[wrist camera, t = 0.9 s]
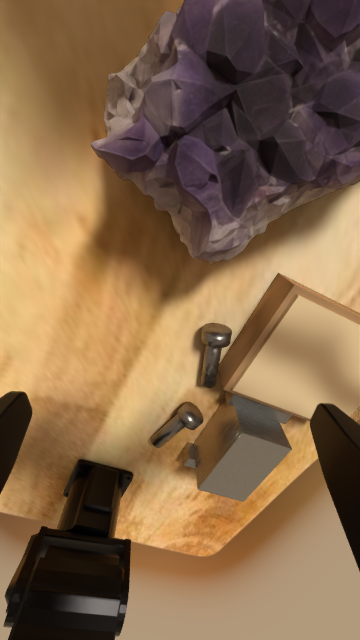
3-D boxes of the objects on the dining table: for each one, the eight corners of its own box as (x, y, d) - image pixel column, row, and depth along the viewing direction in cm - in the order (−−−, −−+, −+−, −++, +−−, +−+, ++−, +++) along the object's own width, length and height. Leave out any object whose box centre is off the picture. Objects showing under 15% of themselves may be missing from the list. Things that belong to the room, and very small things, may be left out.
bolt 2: (220, 379, 25) (222, 396, 23) (195, 376, 25) (195, 393, 23) (229, 324, 23) (233, 338, 20) (202, 321, 23) (202, 335, 20)
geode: (434, -130, 13) (1015, -698, 4) (418, 137, 19) (645, 120, 10) (73, 86, 15) (-12, -5, 7) (162, 261, 21) (176, 330, 13)
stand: (319, 407, 27) (338, 434, 24) (217, 368, 25) (224, 392, 22) (389, 328, 23) (422, 348, 20) (278, 272, 21) (297, 286, 18)
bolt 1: (165, 440, 29) (165, 461, 26) (148, 431, 28) (146, 451, 26) (201, 409, 27) (204, 428, 25) (183, 397, 26) (185, 416, 24)
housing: (232, 463, 31) (243, 510, 26) (182, 448, 29) (185, 495, 25) (284, 400, 27) (307, 442, 22) (229, 380, 25) (242, 420, 21)
